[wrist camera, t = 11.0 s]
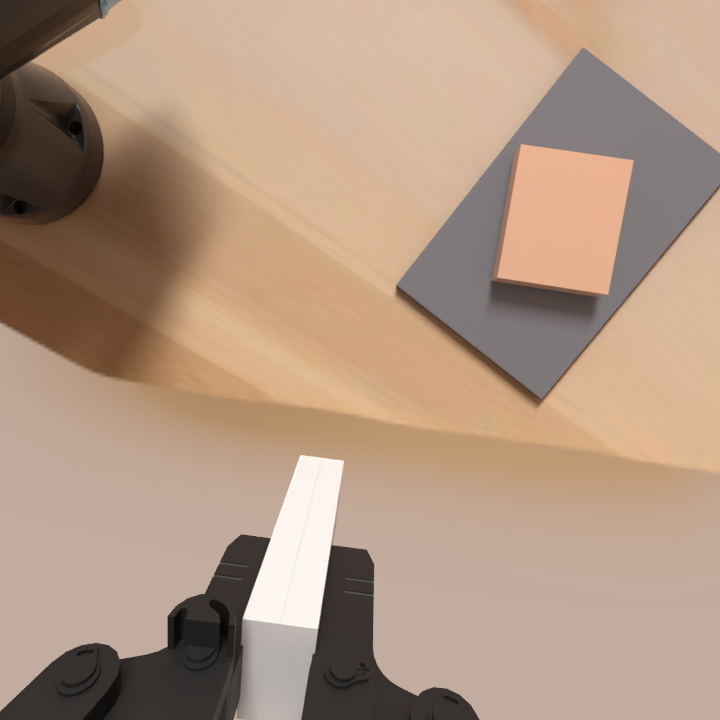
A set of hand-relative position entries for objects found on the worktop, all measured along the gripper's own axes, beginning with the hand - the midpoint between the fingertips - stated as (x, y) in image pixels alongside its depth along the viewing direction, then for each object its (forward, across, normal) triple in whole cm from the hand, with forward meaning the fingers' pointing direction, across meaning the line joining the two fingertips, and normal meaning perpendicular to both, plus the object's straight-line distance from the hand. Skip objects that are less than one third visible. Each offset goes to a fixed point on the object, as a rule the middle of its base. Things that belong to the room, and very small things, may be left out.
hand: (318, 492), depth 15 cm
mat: (+32, +18, +11) cm, 39 cm away
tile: (+28, +17, +6) cm, 34 cm away
